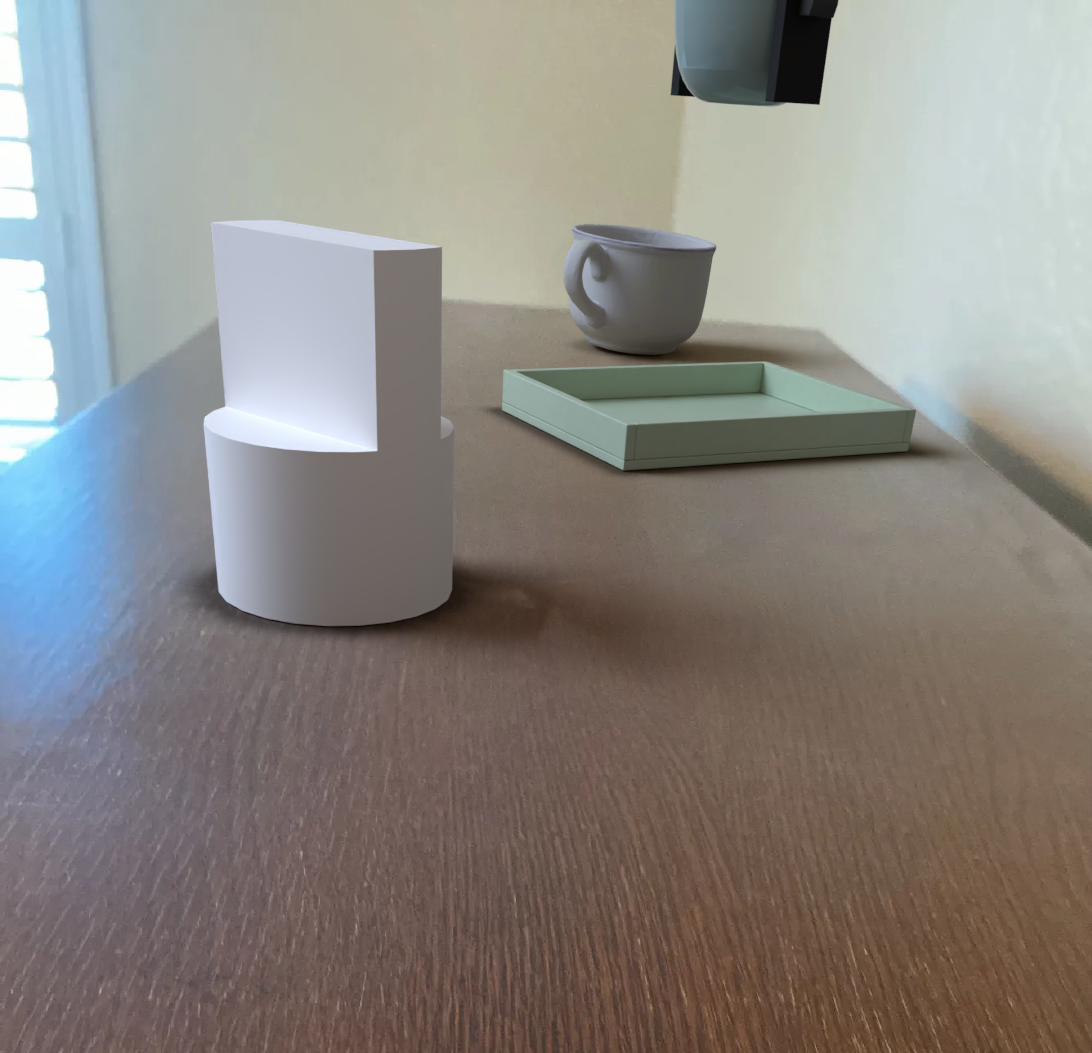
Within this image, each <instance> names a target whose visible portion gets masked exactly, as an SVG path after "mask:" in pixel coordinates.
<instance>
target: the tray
mask: <svg viewBox="0 0 1092 1053" xmlns="http://www.w3.org/2000/svg"><path fill="white" fill-rule="evenodd" d="M501 398H502V400H501V401H502V402H501V410H502V412H505V413H507V414H509V415H511V416H513V417H515V418H517V419H518V420H521V421H523V422H525V423H527V424H529V425H531V426H533V427H534V428H537V429H539V430H541V431H543V432H545V433H547V434H549V435H551V436H552V437H555V438H557V439H559V440H561V441H563V442H565V443H567V444H569V445H571V446H573V447H575V448H577V449H579V450H582V451H583V452H585V453H587V454H589V455H591V456H593V457H595V458H597V459H598V460H599V459H600V460H601V461H603V462H605V463H607V464H609V465H610V466H611V465H612V466H613V467H615V468H617V469H619V470H621V471H623V472H624V471H625V472H626V471H640V470H651V469H652V470H654V469H669V468H682V467H683V468H684V467H696V466H698V467H699V466H712V465H725V464H741V463H755V462H757V463H758V462H770V461H771V462H773V461H785V460H798V459H799V460H801V459H813V458H814V459H815V458H827V457H828V458H830V457H844V456H856V455H857V456H858V455H872V454H873V455H874V454H886V453H900V452H901V453H902V452H908V451H909V448H910V442H911V438H912V433H913V428H914V423H915V418H916V413H917V410H916V408H912V407H909V406H906V405H903V404H901V403H897V402H894V401H891V400H888V399H884V398H882V397H878V396H876V395H872V394H869V393H866V392H863V391H860V390H858V389H857V390H856V389H854V388H850V387H848V386H844V385H841V384H838V383H834V382H832V381H829V380H825V379H822V378H819V377H817V376H813V375H810V374H806V373H804V372H801V371H797V370H794V369H791V368H789V367H785V366H782V365H779V364H775V363H773V362H770V361H766V360H764V361H736V362H734V361H733V362H705V363H703V362H701V363H673V364H671V363H670V364H641V365H640V364H639V365H612V366H611V365H609V366H579V367H578V366H577V367H575V366H574V367H547V368H546V367H545V368H515V369H503V371H502V397H501Z"/></svg>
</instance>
